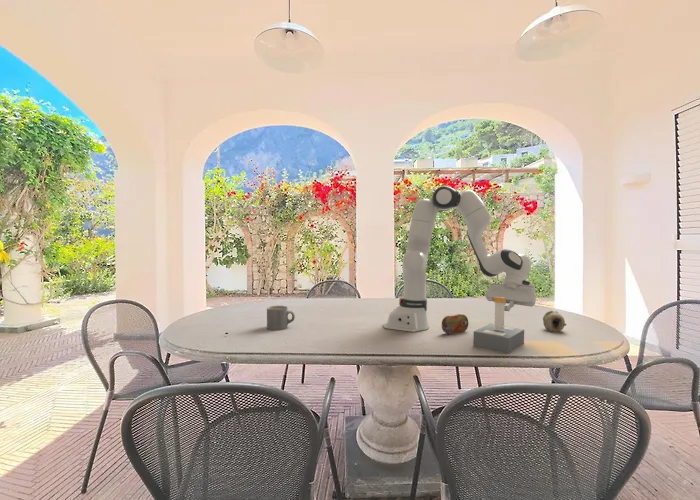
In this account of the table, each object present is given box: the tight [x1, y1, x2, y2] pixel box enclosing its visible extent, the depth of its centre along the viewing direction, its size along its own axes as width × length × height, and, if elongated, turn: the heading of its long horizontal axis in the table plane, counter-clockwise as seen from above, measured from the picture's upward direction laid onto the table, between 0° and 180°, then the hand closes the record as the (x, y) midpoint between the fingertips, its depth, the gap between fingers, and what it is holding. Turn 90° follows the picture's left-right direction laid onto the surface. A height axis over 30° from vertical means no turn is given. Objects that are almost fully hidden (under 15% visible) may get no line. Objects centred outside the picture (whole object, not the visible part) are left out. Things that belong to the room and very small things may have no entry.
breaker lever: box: [493, 297, 507, 330], centre depth 142 cm, size 2×4×13 cm, turn 46°
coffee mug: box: [266, 305, 296, 331], centre depth 167 cm, size 13×10×10 cm
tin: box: [441, 313, 469, 335], centre depth 160 cm, size 15×3×8 cm, turn 118°
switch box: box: [472, 323, 525, 354], centre depth 142 cm, size 18×14×6 cm
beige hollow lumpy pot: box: [542, 310, 567, 333], centre depth 164 cm, size 9×8×10 cm
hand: (505, 310), depth 146 cm, fingers closed
